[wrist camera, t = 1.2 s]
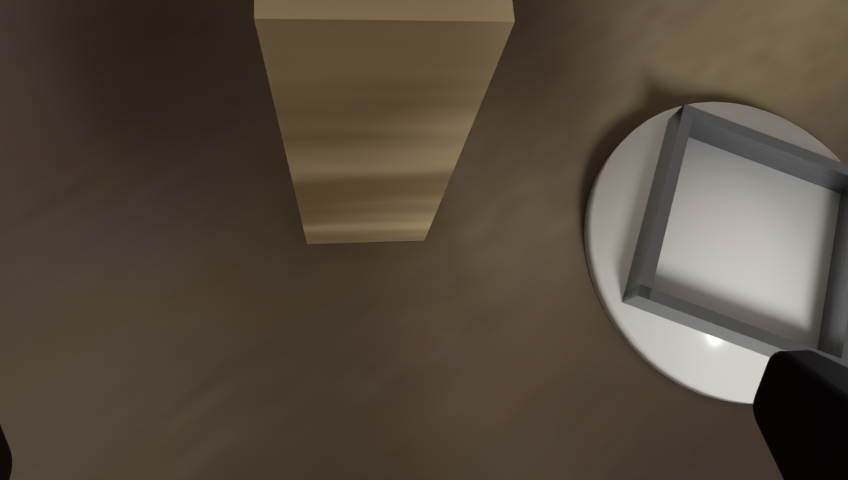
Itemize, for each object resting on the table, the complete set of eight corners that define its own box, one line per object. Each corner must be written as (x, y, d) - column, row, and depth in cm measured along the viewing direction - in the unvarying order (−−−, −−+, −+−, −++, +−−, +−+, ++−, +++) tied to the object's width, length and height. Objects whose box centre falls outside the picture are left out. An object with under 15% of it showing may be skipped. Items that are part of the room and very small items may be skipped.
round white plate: (851, 450, 22) (869, 451, 21) (548, 338, 21) (555, 335, 21) (886, 170, 25) (903, 162, 24) (624, 72, 25) (633, 60, 24)
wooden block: (424, 240, 22) (514, 21, 10) (306, 244, 21) (254, 19, 9) (417, 134, 23) (491, -178, 11) (305, 135, 22) (255, -191, 11)
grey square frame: (824, 377, 21) (851, 375, 20) (621, 302, 21) (637, 295, 20) (852, 188, 23) (878, 176, 22) (668, 119, 23) (684, 103, 22)
